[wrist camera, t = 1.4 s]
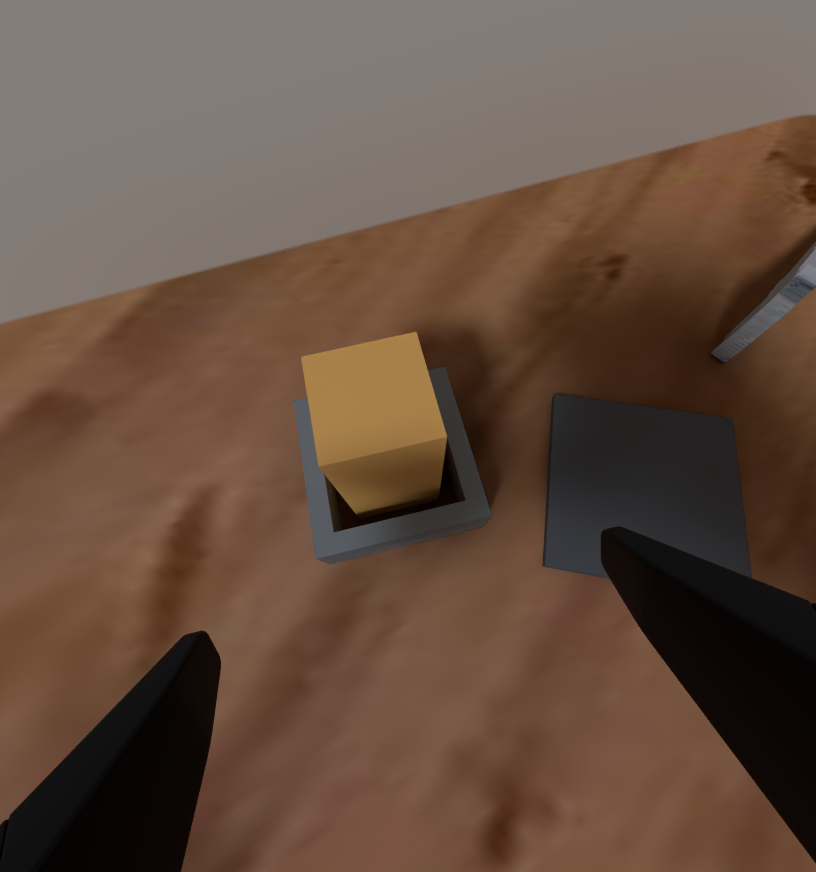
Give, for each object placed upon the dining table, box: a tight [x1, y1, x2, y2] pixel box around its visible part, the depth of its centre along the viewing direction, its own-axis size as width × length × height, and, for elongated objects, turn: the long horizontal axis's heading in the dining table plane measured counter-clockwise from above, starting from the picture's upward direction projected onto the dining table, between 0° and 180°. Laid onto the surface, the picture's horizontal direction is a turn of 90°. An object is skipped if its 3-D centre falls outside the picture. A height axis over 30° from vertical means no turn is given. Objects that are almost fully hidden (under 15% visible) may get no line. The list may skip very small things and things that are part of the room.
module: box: [301, 332, 447, 519], centre depth 19 cm, size 4×4×10 cm
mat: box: [543, 394, 752, 578], centre depth 22 cm, size 10×10×1 cm
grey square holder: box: [293, 366, 492, 564], centre depth 22 cm, size 8×8×3 cm
